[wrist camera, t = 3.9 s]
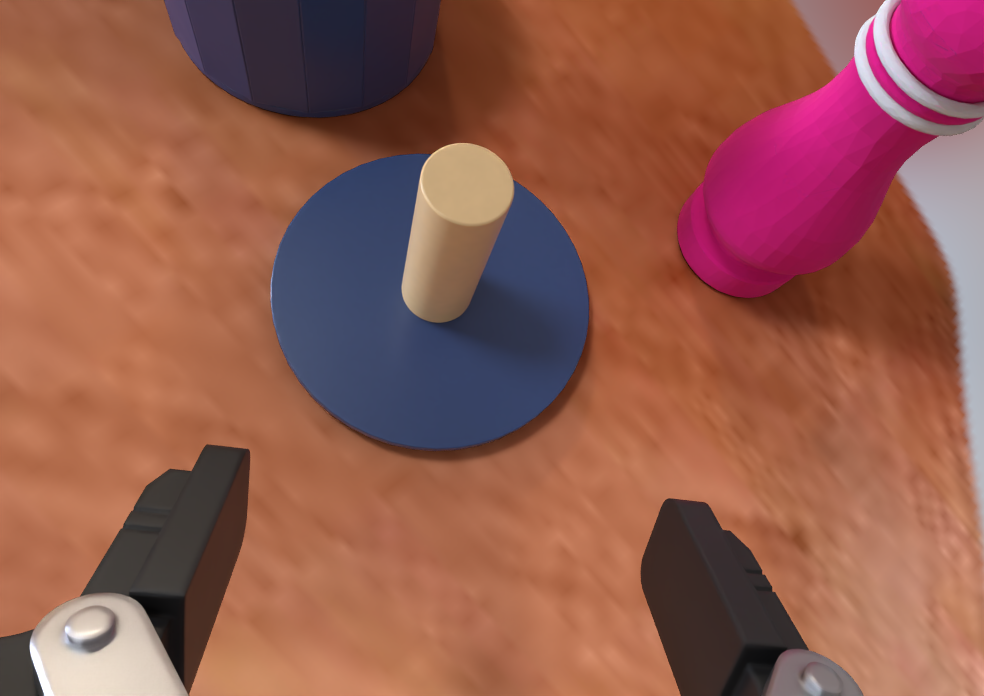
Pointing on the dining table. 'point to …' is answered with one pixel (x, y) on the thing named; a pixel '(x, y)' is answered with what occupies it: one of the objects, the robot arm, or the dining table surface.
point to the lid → (430, 300)
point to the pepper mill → (834, 150)
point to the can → (308, 50)
